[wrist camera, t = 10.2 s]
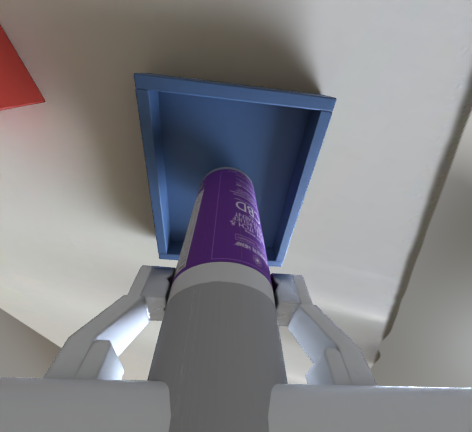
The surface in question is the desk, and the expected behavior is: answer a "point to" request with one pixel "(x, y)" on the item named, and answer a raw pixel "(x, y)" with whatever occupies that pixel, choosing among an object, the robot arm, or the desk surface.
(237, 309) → the container
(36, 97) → the red block
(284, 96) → the tray
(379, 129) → the desk surface
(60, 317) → the desk surface
